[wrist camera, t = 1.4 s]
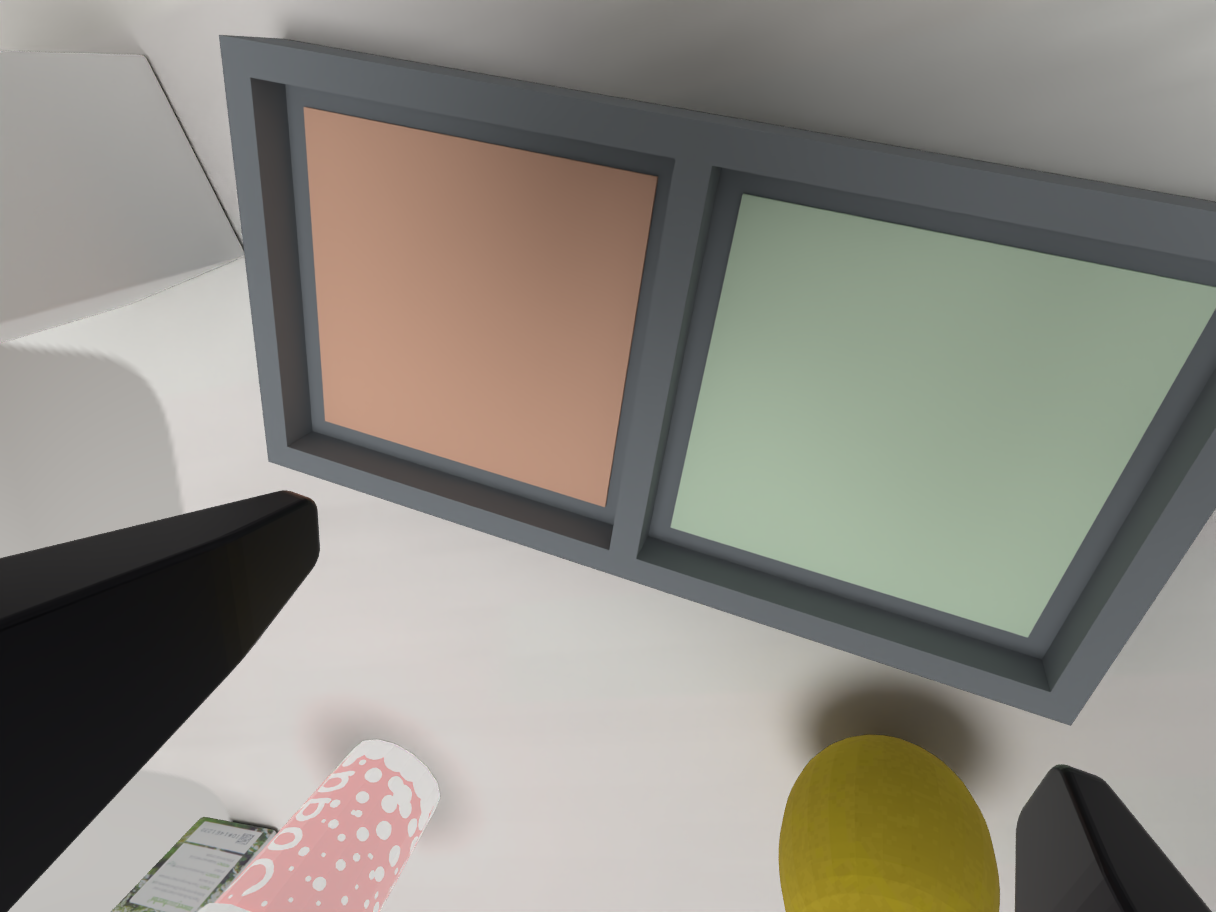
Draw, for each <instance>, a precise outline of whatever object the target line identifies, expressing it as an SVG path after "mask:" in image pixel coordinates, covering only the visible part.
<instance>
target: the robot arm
mask: <svg viewBox="0 0 1216 912" xmlns="http://www.w3.org/2000/svg"><path fill="white" fill-rule="evenodd" d="M319 552H320V542H319V527H318V512H317V506H316V504H315V502H314V501H313V500H312V499H310V498H308V497H305V496H302V495H300V494H297V493H294V492H291V491H284V490H283V491H278V492H273V493H269V494H265V495H261V496H257V497H253V498H249V499H244V500H240V501H236V502H232V503H228V504H224V505H219V506H215V507H211V508H207V509H203V510H199V511H195V512H190V513H186V514H182V515H178V516H174V517H170V518H165V519H161V520H157V521H153V522H150V523H145V524H141V525H136V526H132V527H129V528H124V529H120V530H116V531H112V532H107V533H104V534H99V535H95V536H91V537H87V538H83V539H78V540H74V541H70V542H66V543H62V544H57V545H53V546H49V547H45V548H41V549H37V550H33V551H28V552H25V553H20V554H16V555H12V556H8V557H3V558H0V912H8V911H9V909H10V908H11V907H12V906H13V905H14V904H15V903H16V902H17V901H18V900H19V899H20V898H21V897H22V895H24V893H25V892H26V891H27V890H28V889H29V888H30V887H31V886H32V885H33V884H34V883H35V882H36V881H37V879H38V878H39V877H40V876H41V875H42V874H43V873H44V872H45V871H46V870H47V869H48V868H49V867H50V865H52V863H53V862H54V861H55V860H56V859H57V858H58V857H59V856H60V855H61V854H62V853H63V852H64V851H65V850H66V848H67V847H68V846H69V845H70V844H71V843H72V842H73V841H74V840H75V839H76V838H77V837H78V836H79V834H80V833H81V832H82V831H83V830H84V829H85V828H86V827H87V826H88V825H89V824H90V823H91V822H92V821H93V820H94V818H95V817H96V816H97V815H98V814H99V813H100V812H101V811H102V810H103V809H104V808H105V807H106V806H107V804H108V803H109V802H110V801H111V800H112V799H113V798H114V797H115V796H116V795H117V794H118V793H119V792H120V791H121V790H122V788H123V787H124V786H125V785H126V784H127V783H128V782H129V781H130V780H131V779H132V778H133V777H134V776H135V775H136V774H137V772H138V771H139V770H140V769H141V768H142V767H143V766H144V765H145V764H146V763H147V762H148V761H149V760H150V759H151V757H152V756H153V755H154V754H155V753H156V752H157V751H158V750H159V749H160V748H161V747H162V746H163V745H164V744H165V742H166V741H167V740H168V739H169V738H170V737H171V736H172V735H173V734H174V733H175V732H176V731H177V730H178V729H179V727H180V726H181V725H182V724H183V723H184V722H185V721H186V720H187V719H188V718H189V717H190V716H191V715H192V714H193V713H194V711H195V710H196V709H197V708H198V707H199V706H200V705H201V704H202V703H203V702H204V701H205V700H206V699H207V698H208V696H209V695H210V694H211V693H212V692H213V691H214V690H215V689H216V688H217V687H218V686H219V685H220V684H221V683H222V681H223V680H224V679H225V678H226V677H227V676H228V675H229V674H230V673H231V672H232V671H233V669H234V668H235V667H236V666H237V665H238V664H239V663H240V662H241V660H242V659H243V658H244V657H245V656H246V654H247V653H248V652H249V651H250V650H251V648H252V647H253V646H254V645H255V643H256V642H257V641H258V640H259V638H260V637H261V636H262V634H263V633H264V632H265V630H266V629H267V628H268V626H269V625H270V624H271V623H272V621H273V620H274V619H275V617H276V616H277V615H278V613H279V612H280V611H281V609H282V608H283V607H284V606H285V604H286V603H287V602H288V600H289V599H290V598H291V596H292V595H293V594H294V592H295V591H296V590H297V589H298V587H299V586H300V585H301V583H302V582H303V581H304V579H305V578H306V577H307V575H308V574H309V573H310V572H311V570H312V569H313V567H314V566H315V564H316V562H317V559H318V557H319ZM1015 912H1212V911H1211V910H1210V909H1209V908H1208V907H1207V905H1206V904H1205V903H1204V902H1203V900H1202V899H1201V898H1200V897H1199V895H1198V894H1197V893H1196V892H1195V891H1194V889H1193V888H1192V887H1191V886H1190V884H1189V883H1188V882H1187V881H1186V879H1185V878H1184V877H1183V876H1182V875H1181V873H1180V872H1179V871H1178V870H1177V868H1176V867H1175V866H1174V865H1173V863H1172V862H1171V861H1170V860H1169V859H1168V857H1167V856H1166V855H1165V854H1164V852H1163V851H1162V850H1161V849H1160V847H1159V846H1158V845H1157V844H1156V843H1155V841H1154V840H1153V839H1152V838H1151V836H1150V835H1149V834H1148V833H1147V831H1146V830H1145V829H1144V828H1143V827H1142V825H1141V824H1140V823H1139V822H1138V820H1137V819H1136V818H1135V817H1134V815H1133V814H1132V813H1131V812H1130V811H1129V809H1128V808H1127V807H1126V806H1125V804H1124V803H1123V802H1122V801H1121V799H1120V798H1119V797H1118V796H1117V795H1116V793H1115V792H1114V791H1113V790H1112V788H1111V787H1110V786H1109V785H1108V784H1107V783H1106V782H1105V781H1104V780H1103V779H1102V778H1100V777H1098V776H1096V775H1093V774H1090V773H1087V772H1085V771H1082V770H1079V769H1076V768H1073V767H1070V766H1068V765H1056V766H1054V767H1053V768H1052V769H1051V770H1050V771H1049V772H1048V773H1047V775H1046V776H1045V777H1044V779H1043V780H1042V782H1041V783H1040V785H1039V786H1038V787H1037V789H1036V790H1035V792H1034V793H1033V795H1032V796H1031V797H1030V799H1029V800H1028V802H1027V803H1026V805H1025V806H1024V807H1023V809H1022V811H1021V813H1020V815H1019V818H1018V822H1017V828H1016V873H1015Z"/></svg>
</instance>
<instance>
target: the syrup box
mask: <svg viewBox="0 0 1216 912" xmlns="http://www.w3.org/2000/svg"><path fill="white" fill-rule="evenodd" d="M276 834H277V833H276V832H275V830H272V829H267V828H262V827H256V826H251V825H245V824H240V823H235V822H229V821H224V820H218V819H213V818H208V817H203V818H201V819H199V820H198V822H196V823H195V824H194V826H192V828H191V829H190V830H189V831H188V832H187V833H186V834H185V835H184V836H183V837H182V838H181V839H180V840H179V841H178V842H177V843H176V844H175V845H174V846H173V847H172V849H171V850H170V851H169V852H168V853H167V854H166V855H165V856H164V857H163V858H162V859H161V860H160V861H159V862H158V863H157V864H156V865H155V866H154V867H153V868H152V869H151V870H150V871H149V872H148V873H147V875H146V876H145V877H144V878H143V879H142V880H141V881H140V882H139V883H138V884H137V885H136V886H135V887H134V889H132V890H131V891H130V893H128V895H127V896H126V897H125V898H124V899H123V900H122V901H121V902H120V903H119V904H118V905H117V906H116V907H115V908H114V909H113V910H112V911H111V912H198V911H199V910H200V909H201V908H203V907H204V906H206V905H207V904H209V903H215V902H216V901H217V899H218V898H219V897H220V896H221V895H222V894H223V893H224V892H225V891H226V889H227V888H228V887H229V886H230V885H231V884H232V883H233V882H234V881H235V880H236V878H237V877H238V876H239V875H240V874H241V873H242V872H243V871H244V870H245V868H246V867H247V866H248V865H249V864H250V863H251V862H252V861H253V860H254V858H255V857H256V856H257V855H258V854H259V853H260V852H261V851H262V850H263V848H264V847H265V846H266V845H267V844H268V843H269V842H270V841H271V840H272V839H273V837H274V836H275V835H276Z"/></svg>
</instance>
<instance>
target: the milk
mask: <svg viewBox="0 0 1216 912" xmlns="http://www.w3.org/2000/svg"><path fill="white" fill-rule="evenodd" d="M243 256H244V251H243V249H242V247H241V245H240V243H239V241H238V239H237V237H236V235H235V233H234V231H233V229H232V227H231V225H230V223H229V221H228V219H227V217H226V215H225V213H224V211H223V209H222V207H221V205H220V203H219V201H218V199H217V197H216V195H215V193H214V191H213V189H212V187H211V185H210V183H209V181H208V179H207V177H206V175H205V173H204V171H203V169H202V167H201V165H200V163H199V162H198V160H197V158H196V156H195V154H194V152H193V150H192V148H191V146H190V144H189V142H188V140H187V138H186V136H185V134H184V132H183V130H182V128H181V126H180V124H179V122H178V120H177V118H176V116H175V114H174V112H173V110H172V108H171V106H170V104H169V102H168V100H167V98H166V96H165V94H164V92H163V90H162V88H161V86H160V84H159V82H158V80H157V78H156V76H155V74H154V72H153V70H152V68H151V66H150V65H149V63H148V61H147V59H146V58H145V56H143V55H135V54H102V53H67V52H32V51H0V343H3V342H7V341H10V340H13V339H17V338H20V337H23V336H27V335H30V334H33V333H37V332H40V331H43V330H47V329H50V328H53V327H57V326H60V325H63V324H67V323H70V322H73V321H77V320H80V319H83V318H87V317H90V316H93V315H97V314H100V313H103V312H107V311H110V310H113V309H117V308H120V307H123V306H127V305H130V304H132V303H135V302H137V301H139V300H142V299H144V298H147V297H149V296H151V295H154V294H156V293H158V292H161V291H163V290H166V289H168V288H170V287H173V286H175V285H177V284H180V283H182V282H185V281H187V280H189V279H192V278H194V277H196V276H199V275H201V274H203V273H206V272H208V271H211V270H213V269H215V268H218V267H220V266H222V265H225V264H227V263H230V262H232V261H234V260H237V259H239V258H241V257H243Z"/></svg>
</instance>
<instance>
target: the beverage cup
mask: <svg viewBox="0 0 1216 912" xmlns="http://www.w3.org/2000/svg"><path fill="white" fill-rule="evenodd" d="M439 799H440V792H439V788H438V783H437V781H436V780H435V778H434V777H433V775H432V773H431V772H430V770H429V769H428V767H427V766H425V765H424V764H423V763H422V762H421V761H420V760H419V759H418V758H417V757H416V756H415V755H413V754H412V753H410V752H409V751H407V750H405V749H403V748H402V747H400V746H398V745H396V744H394V743H390V742H386V741H382V740H379V739H375V740H365V741H362V742H361V743H360V744H359V745H357V746H356V747H355V748H354V749H353V750H352V751H351V752H350V753H349V754H348V755H347V757H346V758H345V759H344V760H343V761H342V762H341V763H340V764H339V765H338V767H337V768H336V769H335V770H334V771H333V772H332V773H331V774H330V775H329V776H328V778H327V779H326V780H325V781H324V782H323V783H322V784H321V785H320V786H319V788H318V789H317V790H316V791H315V792H314V793H313V794H312V795H311V796H310V798H309V799H308V800H307V801H306V802H305V803H304V804H303V805H302V806H301V808H300V809H299V810H298V811H297V812H296V813H295V814H294V815H293V816H292V817H291V819H290V820H289V821H288V822H287V823H286V824H285V825H284V826H283V827H282V829H281V830H280V831H279V832H278V833H277V834H276V835H275V836H274V837H273V839H272V840H271V841H270V842H269V843H268V844H267V845H266V846H265V847H264V848H263V850H262V851H261V852H260V853H259V854H258V855H257V856H256V857H255V858H254V860H253V861H252V862H251V863H250V864H249V865H248V866H247V867H246V868H245V870H244V871H243V872H242V873H241V874H240V875H239V876H238V877H237V878H236V880H235V881H234V882H233V883H232V884H231V885H230V886H229V887H228V888H227V889H226V891H225V892H224V893H223V894H222V895H221V896H220V897H219V898H218V899H217V901H216V902H215V903H209V904H207V905H206V906H204V907H203V908H201V909H200V910H199V911H198V912H380V911H381V909H382V907H383V905H384V903H385V901H386V900H387V898H388V896H389V894H390V892H391V890H392V888H393V887H394V885H395V883H396V881H397V879H398V877H399V876H400V874H401V872H402V870H403V868H404V866H405V864H406V863H407V861H408V859H409V857H410V855H411V853H412V852H413V850H414V848H415V846H416V844H417V842H418V840H419V839H420V837H421V835H422V833H423V831H424V829H425V827H426V826H427V824H428V822H429V820H430V818H431V816H432V815H433V813H434V811H435V809H436V807H437V804H438V802H439Z"/></svg>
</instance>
